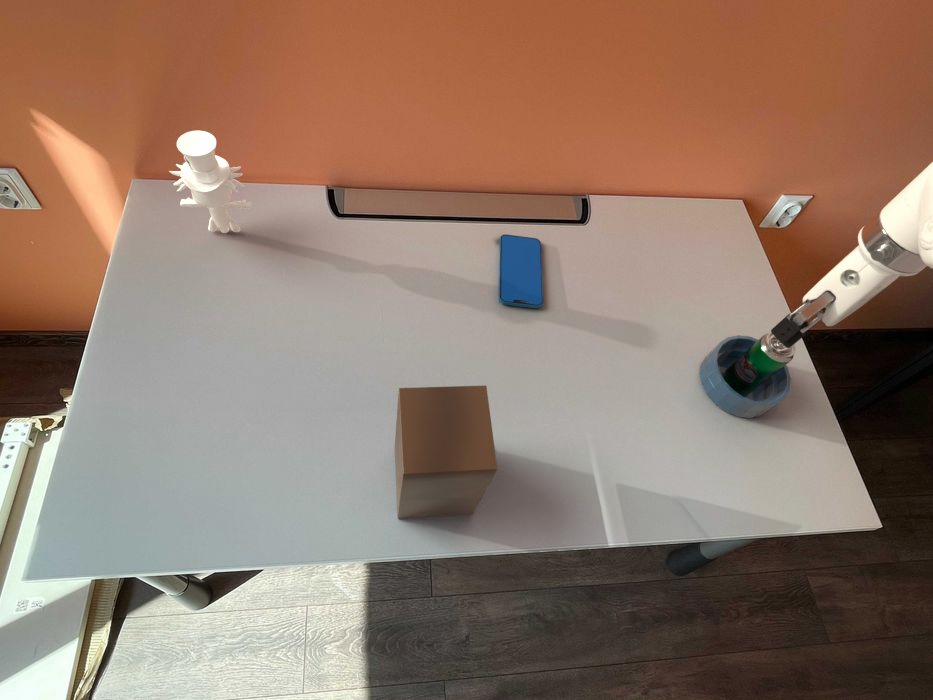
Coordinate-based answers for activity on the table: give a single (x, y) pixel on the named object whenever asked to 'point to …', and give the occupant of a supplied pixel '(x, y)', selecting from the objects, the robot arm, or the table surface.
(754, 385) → the soda can
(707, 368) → the bowl
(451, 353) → the table surface
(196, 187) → the figurine
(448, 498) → the plinth
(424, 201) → the table surface
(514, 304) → the smartphone
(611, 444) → the table surface
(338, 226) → the table surface
